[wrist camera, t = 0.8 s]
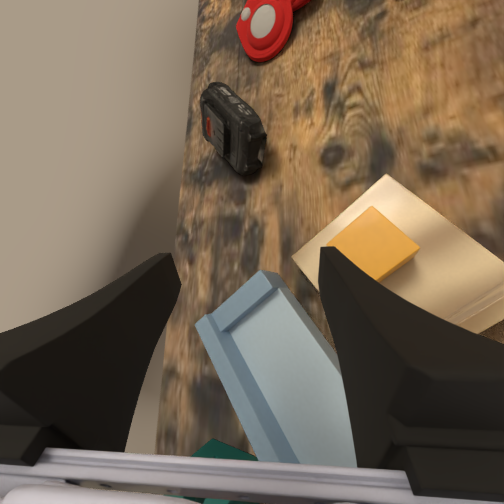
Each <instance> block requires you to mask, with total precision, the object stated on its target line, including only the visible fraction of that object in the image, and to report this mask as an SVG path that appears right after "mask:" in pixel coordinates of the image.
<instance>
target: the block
mask: <svg viewBox="0 0 504 504" xmlns="http://www.w3.org/2000/svg"><path fill="white" fill-rule="evenodd" d="M326 245H327V246H335V247H336V248H337V249H338V250H339V251H340V252H341V253H343V254H344V255H345V256H346V257H347V258H348V259H349V260H351V261H352V262H353V263H354V264H355V265H356V266H358V267H359V268H360V269H361V270H363V271H364V272H365V273H366V274H368V275H369V276H370V277H372V278H373V279H374V280H376V281H377V282H381V281H382V280H383V279H385V278H386V277H388V276H389V275H390V274H392V273H393V272H394V271H396V270H397V269H399V268H400V267H401V266H403V265H404V264H405V263H407V262H408V261H410V260H411V259H412V258H414V256H415V255H416V253H417V252H418V251H419V249H420V247H419V246H418V245H417V244H416V243H415V242H414V241H413V240H411V239H410V238H409V237H408V236H407V235H406V234H404V233H403V232H402V231H401V230H400V229H399V228H398V227H396V226H395V225H394V224H393V223H392V222H391V221H390V220H388V219H387V218H386V217H385V216H384V215H383V214H381V213H380V212H379V211H378V210H377V209H376V208H375V207H373V206H370V207H369V208H368V209H367V210H366V211H364V212H363V213H362V214H361V215H360V216H359V217H357V218H356V219H355V220H354V221H353V222H352V223H350V224H349V225H348V226H347V227H346V228H344V229H343V230H342V231H341V232H340V233H339V234H337V235H336V236H335V237H334V238H333V239H332V240H330V241H329V242H328V243H327V244H326Z"/></svg>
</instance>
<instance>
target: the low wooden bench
mask: <svg viewBox="0 0 504 504" xmlns="http://www.w3.org/2000/svg"><path fill="white" fill-rule="evenodd" d="M370 206H373V207H375V208H376V209H377V210H378V211H379V212H380V213H381V214H383V215H384V216H385V217H386V218H387V219H388V220H390V221H391V222H392V223H393V224H394V225H395V226H396V227H398V228H399V229H400V230H401V231H402V232H403V233H404V234H406V235H407V236H408V237H409V238H410V239H411V240H413V241H414V242H415V243H416V244H417V245H418V246H419V247H420V249H419V251H418V252H417V253H416V255H415V256H414V258H412V259H411V260H410V261H408V262H407V263H405V264H404V265H403V266H401V267H400V268H399V269H397V270H396V271H394V272H393V273H392V274H390V275H389V276H388V277H386V278H385V279H383V280H382V281H381V282H379V283H380V284H381V285H383V286H384V287H386V288H387V289H389V290H390V291H392V292H394V293H395V294H397V295H399V296H400V297H402V298H404V299H405V300H407V301H409V302H411V303H412V304H414V305H416V306H418V307H420V308H422V309H424V310H426V311H428V312H430V313H432V314H433V315H436V316H438V317H440V318H442V319H444V320H446V321H448V322H450V323H453V324H455V325H457V326H460V327H462V328H464V329H466V330H469V331H471V332H473V333H476V334H479V333H481V332H482V331H484V330H486V329H488V328H489V327H491V326H493V325H495V324H496V323H498V322H500V321H502V320H503V319H504V262H503V261H501V260H500V259H499V258H497V257H496V256H495V255H493V254H492V253H491V252H489V251H488V250H487V249H485V248H484V247H483V246H482V245H480V244H479V243H478V242H476V241H475V240H474V239H472V238H471V237H470V236H468V235H467V234H466V233H464V232H463V231H462V230H460V229H459V228H458V227H456V226H455V225H454V224H453V223H451V222H450V221H449V220H447V219H446V218H445V217H443V216H442V215H441V214H439V213H438V212H437V211H435V210H434V209H433V208H431V207H430V206H429V205H427V204H426V203H425V202H424V201H422V200H421V199H420V198H418V197H417V196H416V195H414V194H413V193H412V192H410V191H409V190H408V189H406V188H405V187H404V186H402V185H401V184H400V183H398V182H397V181H396V180H395V179H393V178H392V177H391V176H389V175H388V174H385V175H384V176H383V177H382V178H380V179H379V180H378V181H377V182H376V183H375V184H374V185H373V186H371V187H370V188H369V189H368V190H367V191H366V192H365V193H363V194H362V195H361V196H360V197H359V198H358V199H357V200H355V201H354V202H353V203H352V204H351V205H350V206H349V207H347V208H346V209H345V210H344V211H343V212H342V213H341V214H340V215H338V216H337V217H336V218H335V219H334V220H333V221H332V222H330V223H329V224H328V225H327V226H326V227H325V228H324V229H322V230H321V231H320V232H319V233H318V234H317V235H316V236H314V237H313V238H312V239H311V240H310V241H309V242H308V243H307V244H305V245H304V246H303V247H302V248H301V249H300V250H299V251H297V252H296V253H295V254H294V255H293V256H292V259H293V260H294V261H295V262H296V264H297V265H298V266H299V268H300V269H301V270H302V271H303V273H304V274H305V275H306V276H307V278H308V279H309V280H310V281H311V283H312V284H313V285H314V286H315V288H316V289H317V290H318V291H319V285H318V272H319V259H320V247H326V246H327V245H326V244H327V243H328V242H329V241H330V240H332V239H333V238H334V237H335V236H336V235H337V234H339V233H340V232H341V231H342V230H343V229H344V228H346V227H347V226H348V225H349V224H350V223H352V222H353V221H354V220H355V219H356V218H357V217H359V216H360V215H361V214H362V213H363V212H364V211H366V210H367V209H368V208H369V207H370ZM319 293H320V291H319Z"/></svg>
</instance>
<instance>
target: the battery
mask: <svg viewBox="0 0 504 504" xmlns="http://www.w3.org/2000/svg"><path fill="white" fill-rule="evenodd" d="M200 106H201V118H202V120H201V123H202V132H203V136H204V138H205V139H206V141H208V142H210V143H211V144H212V145H213V146H214V147H215V149H216V150H217V152H218V153H219V154H220V155H221V156H222V157H225V158H226V159H227V161H228V162H229V163H230V164H231V166H232V167H233V168H234V169H235V171H236V172H237V173H239V174H241V175H250V174H253V173H255V171H256V170H258V169H259V168H261V167H262V163H263V156H264V149H265V144H266V139H267V138H266V136H267V134H266V133H265V131H264V128H263V125H262V122H261V120H260V117H259V116H258V115H257V114H256V112H255V111H254V110H253V109H252V108H251V107H250V106H249V105H248V104H247V103H246V102H244V101H243V100H242V99H241V98H240V97H239V96H237V95H236V94H235V92H234V91H232V90H231V89H230V87H229V86H227V85H226V84H224V83H222V82H213V83H210V84H209V86H208V89H206V90H204V91H203V93H202V94H201V98H200Z"/></svg>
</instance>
